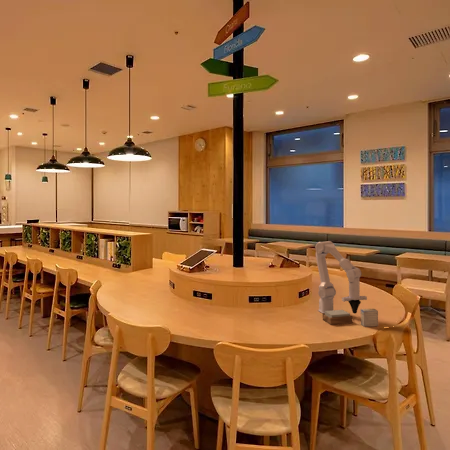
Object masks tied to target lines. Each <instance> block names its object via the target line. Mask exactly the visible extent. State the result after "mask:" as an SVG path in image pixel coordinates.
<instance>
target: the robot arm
mask: <svg viewBox="0 0 450 450" xmlns="http://www.w3.org/2000/svg"><path fill="white" fill-rule="evenodd" d="M314 248H315V259H316V265H317V269H318V275H319V280H320V284H319V285H318V297H319V300H318V309H317V311H318V312H320V313H321V314H323V313H325V311H333V310H335V309H334V298H335V296H336V295H337V291H336V289H335V287H334V283H332V282H331V279H330V276H329V275H330V274H329V270H328V265H327V260H326V259H327V258H326V257H327V256H328V254H330V255H331V256H333V257H334V259H335V260H336V261H338V262H339V266H340V268H341V269H342V270H343V271H344V272H345V273H346V274H345V275H346V277H347V281H348V296H343V297H341V301H342V302H348V303H349V306H350V307H351V308H350V309H351V311H352V313H353V314H357V313H358V309H359V306H360V304H361V303H362V302H361V301H367V300H368V296H366V295H361V293H360V291H361V290H360V284H361V283H360V278H361V277H362V271H361V268H359V267H356V266H355V265H354V264H352V262H351V261H350V259H348V258H344V257H343V255H342V254H341V253H340V251H339V250H338V249H337V248H336V245H335V244H334V242H332V241H331V240H328V241H318V242H317V243H316V244H315V246H314Z"/></svg>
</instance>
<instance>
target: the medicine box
mask: <svg viewBox="0 0 450 450" xmlns="http://www.w3.org/2000/svg"><path fill="white" fill-rule="evenodd" d="M360 325H361V326H362V327H365V328H366V327H379V310H378V309H376V308H360Z"/></svg>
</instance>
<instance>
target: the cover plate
mask: <svg viewBox="0 0 450 450" xmlns="http://www.w3.org/2000/svg"><path fill="white" fill-rule="evenodd" d="M325 315H326V316H328V317H330V318H331V317H343V316H351V313H350V312H348V311H345V310H344V309H337V310H336V309H334V310H333V311H325Z"/></svg>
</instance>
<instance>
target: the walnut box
mask: <svg viewBox="0 0 450 450" xmlns="http://www.w3.org/2000/svg"><path fill="white" fill-rule="evenodd" d="M322 321H324V322H325V323H326V324H328V325H330V326H334V325H335V326H336V325H344V324H345V325H347V323H348V324H353V315H350V316H343V317H331V318H330V317H328V316H326V315H325V313H322Z"/></svg>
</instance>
